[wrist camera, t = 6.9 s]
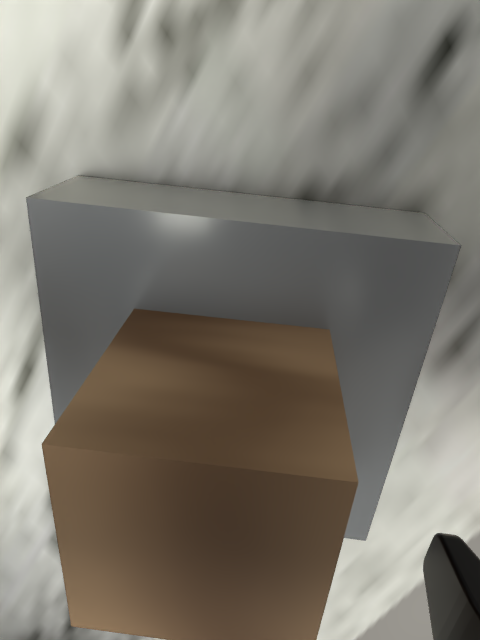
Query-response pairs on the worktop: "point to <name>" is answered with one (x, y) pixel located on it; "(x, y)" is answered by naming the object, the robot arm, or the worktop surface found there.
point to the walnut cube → (203, 480)
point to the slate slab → (247, 288)
